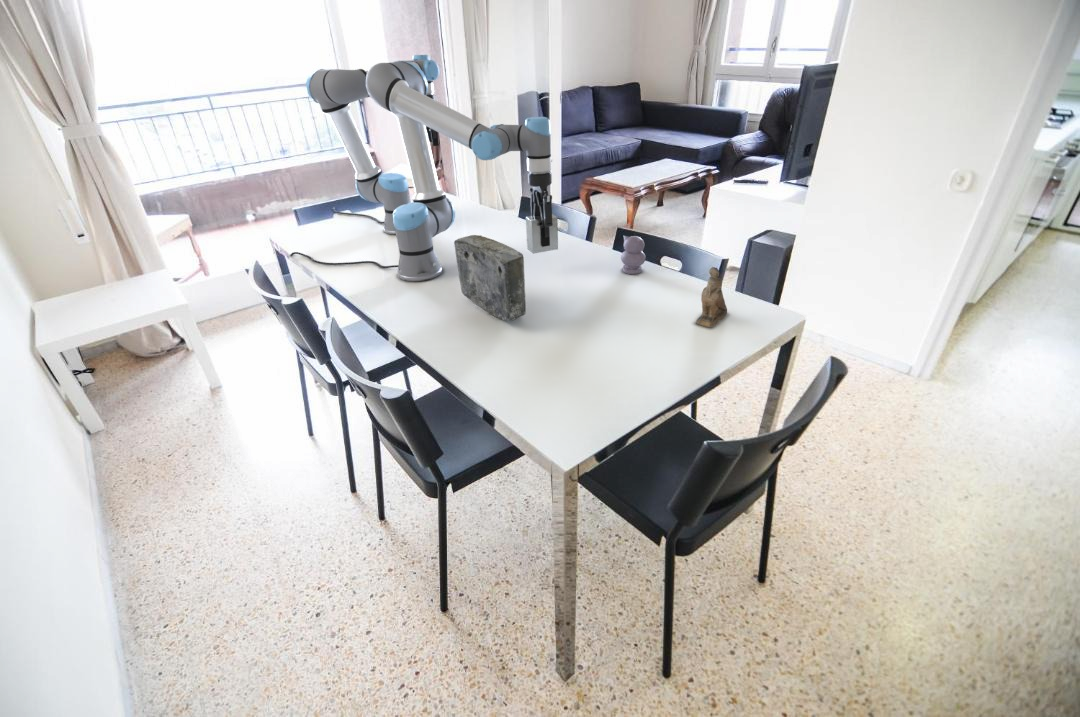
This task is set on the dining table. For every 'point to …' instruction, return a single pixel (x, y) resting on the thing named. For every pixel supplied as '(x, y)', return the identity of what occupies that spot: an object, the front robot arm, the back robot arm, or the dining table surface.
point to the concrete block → (492, 276)
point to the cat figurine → (633, 254)
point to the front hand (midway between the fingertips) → (542, 243)
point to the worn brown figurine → (712, 301)
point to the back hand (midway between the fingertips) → (433, 144)
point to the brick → (535, 234)
